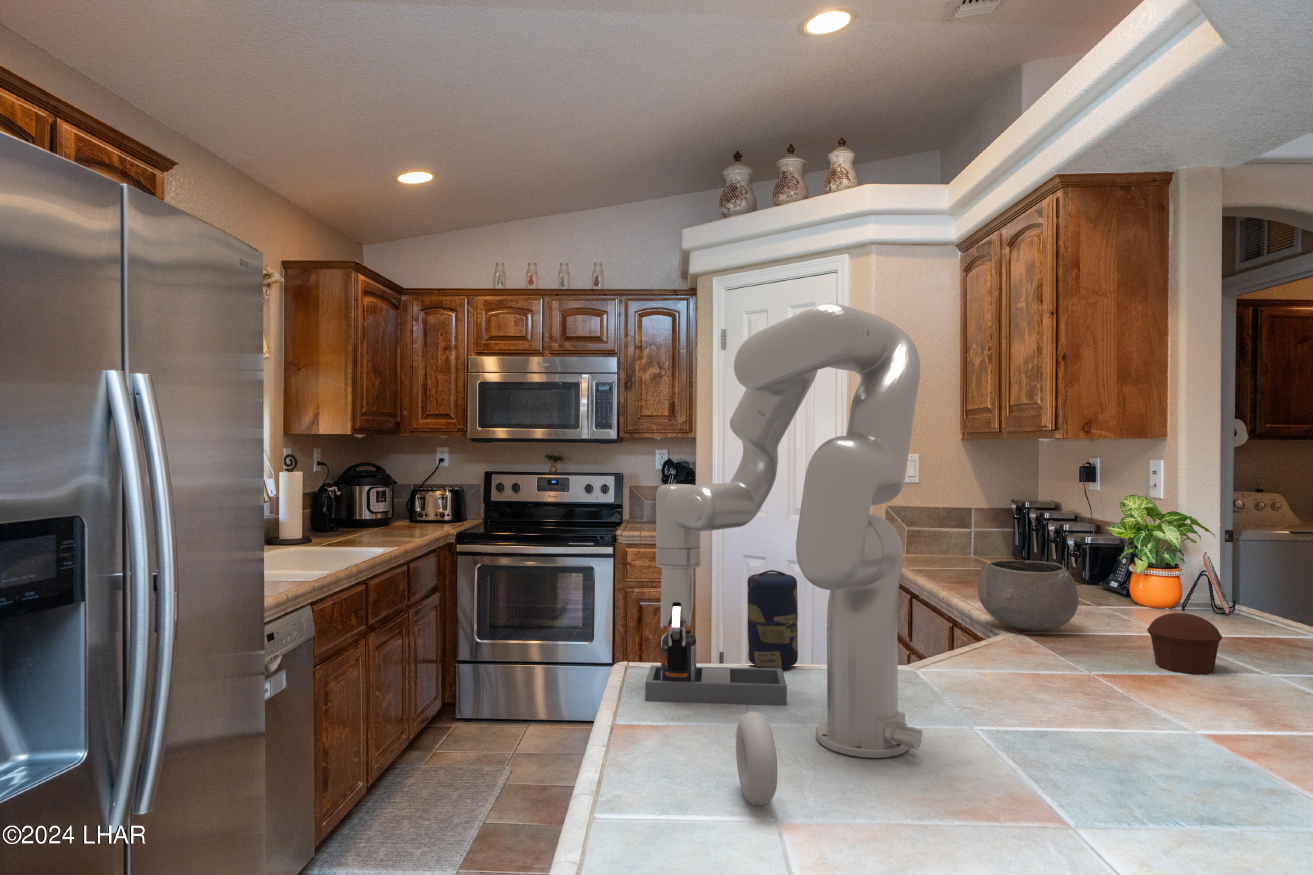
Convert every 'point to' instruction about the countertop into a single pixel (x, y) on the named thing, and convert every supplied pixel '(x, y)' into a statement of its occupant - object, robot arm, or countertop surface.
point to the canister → (772, 620)
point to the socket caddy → (720, 686)
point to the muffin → (1184, 643)
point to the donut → (756, 758)
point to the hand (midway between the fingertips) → (678, 663)
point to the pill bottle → (691, 659)
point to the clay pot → (1028, 594)
